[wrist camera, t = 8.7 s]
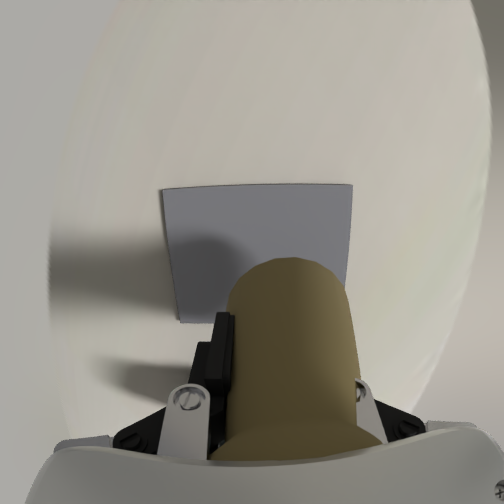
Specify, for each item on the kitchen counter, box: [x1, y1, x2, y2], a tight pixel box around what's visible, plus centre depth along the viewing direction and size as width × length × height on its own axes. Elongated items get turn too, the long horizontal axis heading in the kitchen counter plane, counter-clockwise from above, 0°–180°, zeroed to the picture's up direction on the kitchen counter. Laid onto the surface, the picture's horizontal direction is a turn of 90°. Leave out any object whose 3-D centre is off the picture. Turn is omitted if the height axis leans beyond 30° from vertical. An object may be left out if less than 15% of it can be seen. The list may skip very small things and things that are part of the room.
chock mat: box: [163, 184, 353, 323], centre depth 17 cm, size 9×11×1 cm
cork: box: [209, 257, 383, 461], centre depth 9 cm, size 6×6×11 cm
